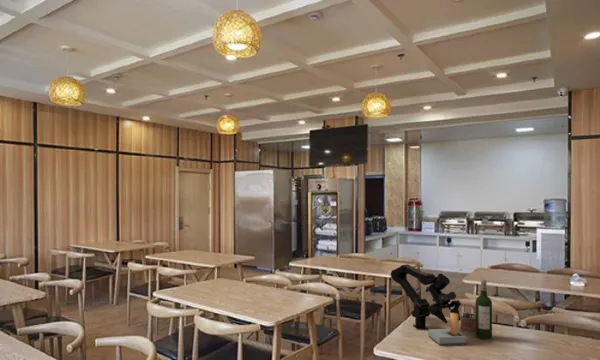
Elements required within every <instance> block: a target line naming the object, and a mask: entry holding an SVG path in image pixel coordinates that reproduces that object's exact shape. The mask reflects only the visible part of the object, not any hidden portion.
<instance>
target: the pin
mask: <svg viewBox="0 0 600 360" xmlns="http://www.w3.org/2000/svg"><path fill="white" fill-rule="evenodd" d="M459 326H460V325H459V321H458V314H457V313H451V312H450V313H449V329H450V335H451V336H459V332H460V330H459Z"/></svg>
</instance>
